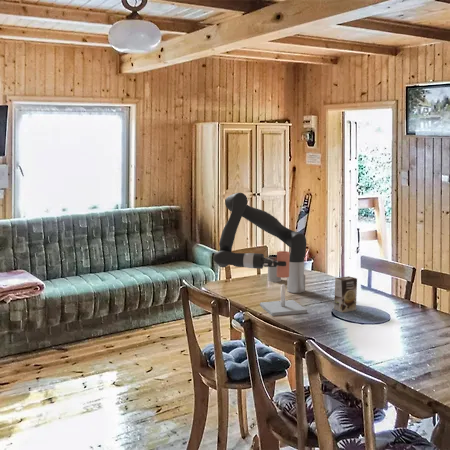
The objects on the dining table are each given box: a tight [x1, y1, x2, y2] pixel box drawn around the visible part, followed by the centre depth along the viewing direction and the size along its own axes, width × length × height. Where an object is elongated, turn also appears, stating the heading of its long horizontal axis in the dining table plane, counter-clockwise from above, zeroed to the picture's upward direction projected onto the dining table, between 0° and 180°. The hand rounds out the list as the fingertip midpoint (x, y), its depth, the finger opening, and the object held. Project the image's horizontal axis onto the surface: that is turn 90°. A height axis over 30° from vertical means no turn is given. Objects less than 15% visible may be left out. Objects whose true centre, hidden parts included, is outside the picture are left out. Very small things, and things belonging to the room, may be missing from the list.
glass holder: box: [266, 254, 282, 283], centre depth 331 cm, size 9×14×15 cm, turn 120°
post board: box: [259, 283, 308, 317], centre depth 271 cm, size 18×18×13 cm
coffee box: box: [333, 276, 358, 313], centre depth 269 cm, size 9×6×16 cm
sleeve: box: [276, 250, 291, 279], centre depth 269 cm, size 6×6×12 cm
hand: (287, 262), depth 268 cm, fingers closed on sleeve, 6 cm apart
